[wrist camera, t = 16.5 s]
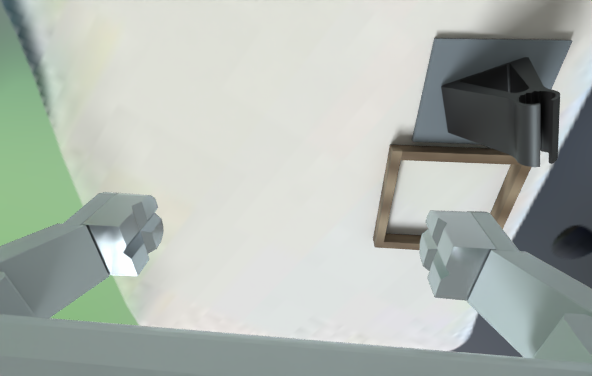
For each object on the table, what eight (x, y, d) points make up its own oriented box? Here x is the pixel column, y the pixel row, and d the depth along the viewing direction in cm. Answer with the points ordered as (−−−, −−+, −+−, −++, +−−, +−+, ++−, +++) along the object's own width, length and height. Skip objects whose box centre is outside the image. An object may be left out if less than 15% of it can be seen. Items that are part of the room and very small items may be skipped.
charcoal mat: (434, 38, 34) (435, 39, 33) (568, 40, 33) (572, 40, 32) (411, 139, 40) (413, 141, 39) (524, 143, 39) (526, 145, 38)
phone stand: (446, 131, 38) (490, 179, 28) (440, 85, 36) (485, 120, 25) (526, 107, 36) (605, 150, 26) (526, 56, 33) (614, 81, 23)
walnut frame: (390, 144, 41) (392, 151, 39) (527, 149, 39) (536, 156, 38) (373, 238, 49) (374, 247, 48) (485, 245, 48) (490, 254, 46)
